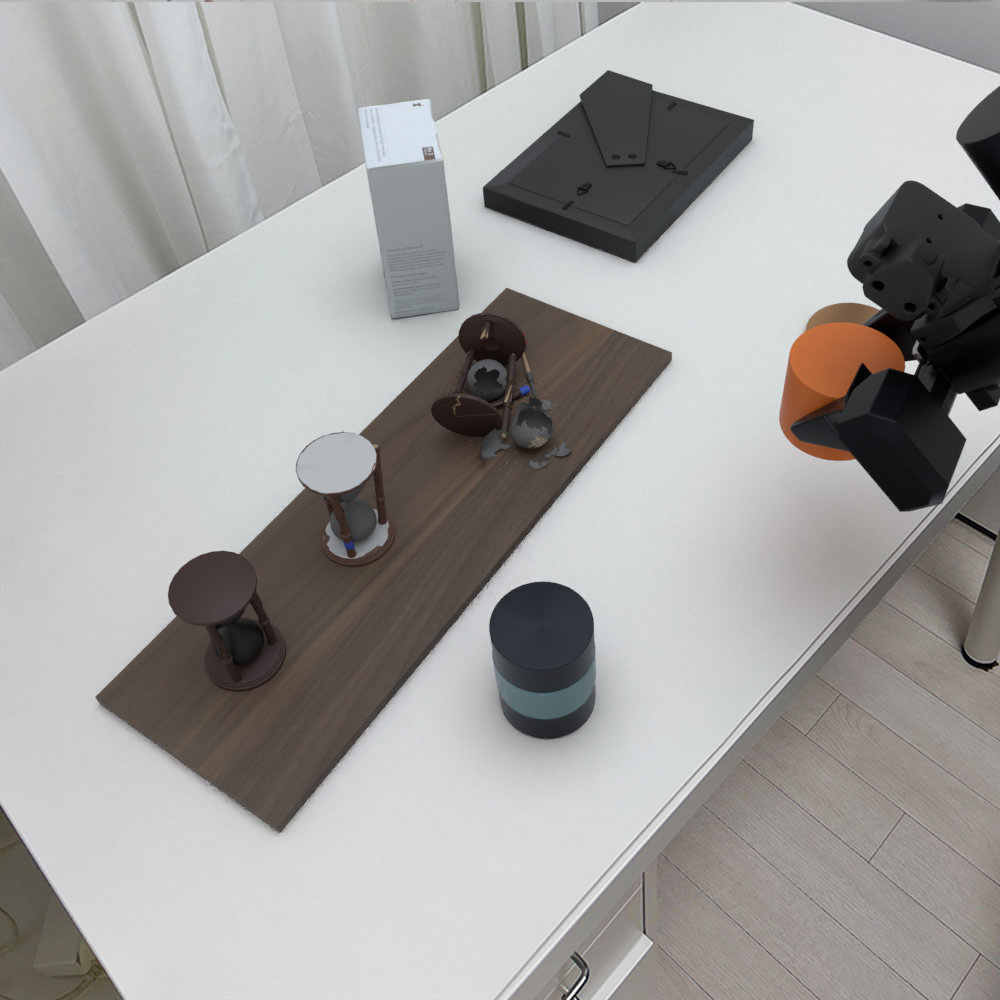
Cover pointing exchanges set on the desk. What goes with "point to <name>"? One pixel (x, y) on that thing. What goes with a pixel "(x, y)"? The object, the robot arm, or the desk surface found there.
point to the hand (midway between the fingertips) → (814, 395)
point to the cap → (830, 373)
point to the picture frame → (619, 166)
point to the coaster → (842, 314)
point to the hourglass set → (376, 553)
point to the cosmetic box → (410, 206)
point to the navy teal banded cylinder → (544, 659)
